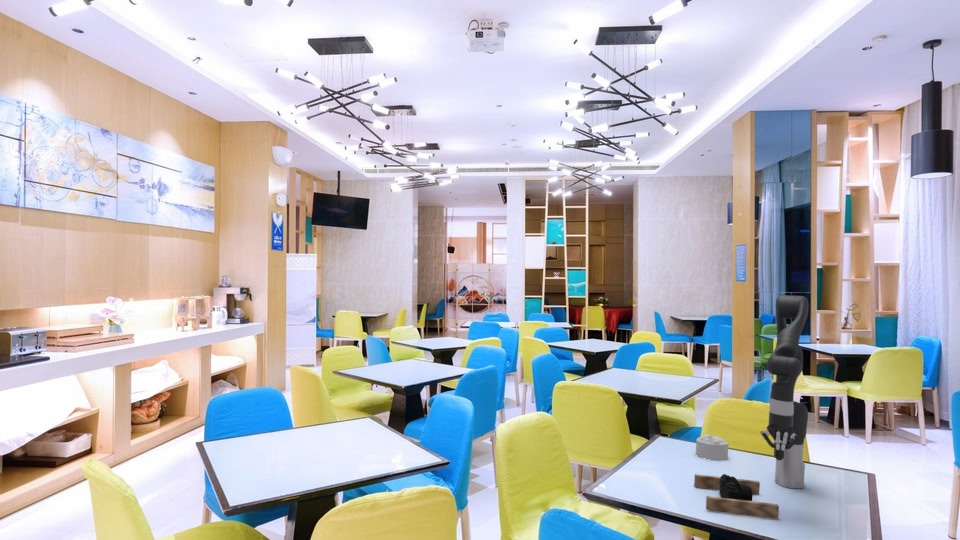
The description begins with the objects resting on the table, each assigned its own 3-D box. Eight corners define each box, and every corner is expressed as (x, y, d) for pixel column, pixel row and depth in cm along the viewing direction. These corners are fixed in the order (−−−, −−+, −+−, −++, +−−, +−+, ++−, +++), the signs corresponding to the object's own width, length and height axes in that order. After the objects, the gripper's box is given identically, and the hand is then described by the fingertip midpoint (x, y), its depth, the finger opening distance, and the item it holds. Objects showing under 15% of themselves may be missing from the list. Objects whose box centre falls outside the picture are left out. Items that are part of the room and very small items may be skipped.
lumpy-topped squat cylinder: (730, 460, 233) (731, 441, 233) (702, 460, 232) (703, 441, 232) (717, 452, 243) (718, 433, 243) (690, 451, 242) (691, 433, 242)
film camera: (756, 513, 183) (757, 488, 183) (726, 509, 185) (728, 484, 185) (744, 494, 198) (745, 471, 198) (716, 491, 200) (718, 468, 200)
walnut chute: (757, 492, 200) (758, 481, 200) (778, 519, 180) (778, 506, 179) (694, 485, 204) (694, 474, 204) (706, 510, 184) (707, 497, 184)
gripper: (797, 410, 191) (794, 458, 191) (757, 407, 194) (755, 453, 194) (805, 416, 184) (802, 465, 184) (764, 412, 186) (762, 461, 187)
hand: (778, 459), depth 189 cm, fingers closed
